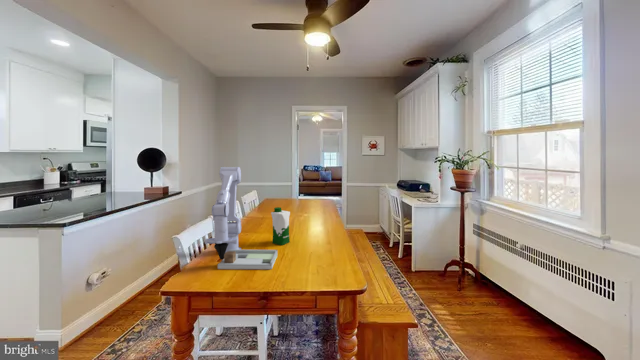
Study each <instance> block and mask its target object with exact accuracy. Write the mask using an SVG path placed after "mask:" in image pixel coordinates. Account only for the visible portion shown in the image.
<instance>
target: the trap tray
mask: <svg viewBox="0 0 640 360" xmlns="http://www.w3.org/2000/svg"><path fill="white" fill-rule="evenodd" d="M229 251H236V260H235V261H234V263H224V259H223V260H221V261H220V262H219V263H218V264H217V269H218V270H272V269H273V267H274V264H275V263H276V259H277V258H278V249H240V250H229Z"/></svg>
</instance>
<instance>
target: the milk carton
mask: <svg viewBox="0 0 640 360" xmlns="http://www.w3.org/2000/svg"><path fill="white" fill-rule="evenodd" d="M273 210H274V211H271V212H270V215H271V218H272V219H271V220H272V242H271V243H272V244H274V245H278V246H284V245H287V244H289V243H291V242H290V216H291V211H288V210H283V209H282V207H280V206H279V207H278V206H277V207H274V209H273Z"/></svg>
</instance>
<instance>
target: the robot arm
mask: <svg viewBox="0 0 640 360" xmlns="http://www.w3.org/2000/svg"><path fill="white" fill-rule="evenodd" d="M218 174H219V178H220V180H221V188H220V190H219V191H218V192H217V195H216V198H215V204H214V205H212V206H211V215H212V221H213V227H214V230H213V231H214V237H211V238H205V239H204V245H207V244H211V245H212V244H213V245H214V246H213V247H214V249H215V250H216V253H217V254H218V255H217V256H218V257H219V260H221V261H222V260H223V259H224V254H225V253H226V252H227V251H229V250H242V247H239V235H240V233H241V232H242V220H241V218H240V217H239V216H237V215H236V214H237V213H236V212H237V190H238V189H237V188H238V184H240V183H241V181H242V171H241V167H240V166H221V167H220V168H219V173H218Z"/></svg>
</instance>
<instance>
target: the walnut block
mask: <svg viewBox="0 0 640 360" xmlns="http://www.w3.org/2000/svg"><path fill="white" fill-rule="evenodd" d="M235 260H236V251H227V252H226V253H225V254H224V263H234V261H235Z"/></svg>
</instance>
